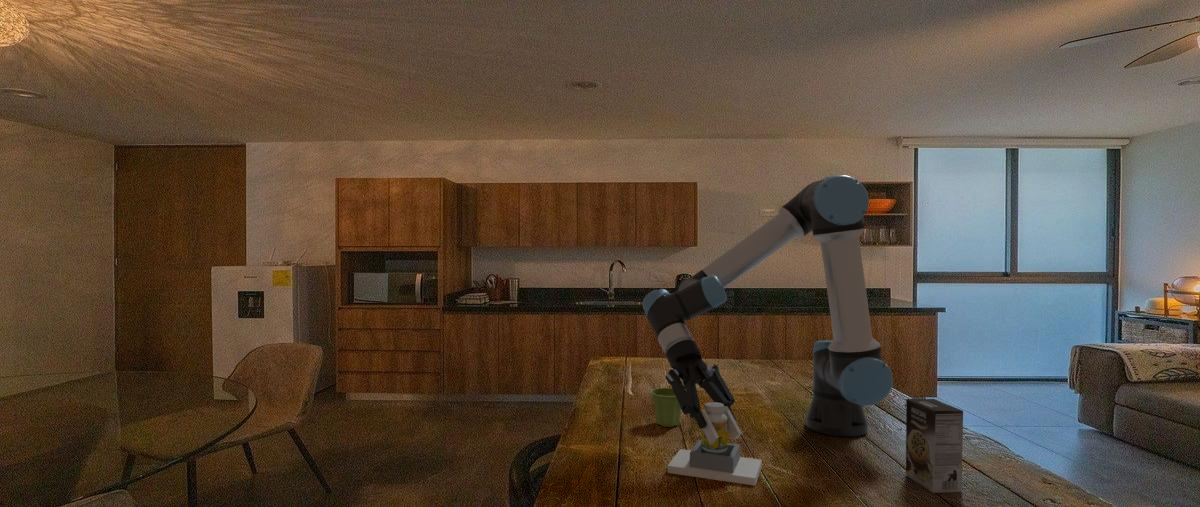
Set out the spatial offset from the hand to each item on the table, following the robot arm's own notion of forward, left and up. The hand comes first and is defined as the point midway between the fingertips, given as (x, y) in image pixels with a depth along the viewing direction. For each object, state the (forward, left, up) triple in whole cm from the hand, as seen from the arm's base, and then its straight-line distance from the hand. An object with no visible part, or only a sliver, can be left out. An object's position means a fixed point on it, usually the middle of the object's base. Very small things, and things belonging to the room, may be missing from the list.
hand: (725, 438), depth 123 cm
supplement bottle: (+3, -2, -4) cm, 5 cm away
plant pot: (+21, -30, -8) cm, 38 cm away
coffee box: (-39, -11, -8) cm, 42 cm away
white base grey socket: (+3, -2, -8) cm, 8 cm away
